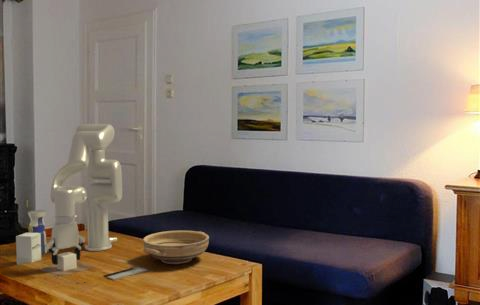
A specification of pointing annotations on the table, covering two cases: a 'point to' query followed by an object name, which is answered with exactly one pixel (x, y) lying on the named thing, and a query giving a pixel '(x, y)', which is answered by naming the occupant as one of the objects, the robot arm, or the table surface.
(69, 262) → the cream cube
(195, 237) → the ceramic bowl
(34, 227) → the spray bottle
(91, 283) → the table surface
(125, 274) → the gray square plate
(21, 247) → the supplement box
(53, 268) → the tan square base plate
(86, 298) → the table surface
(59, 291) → the table surface
